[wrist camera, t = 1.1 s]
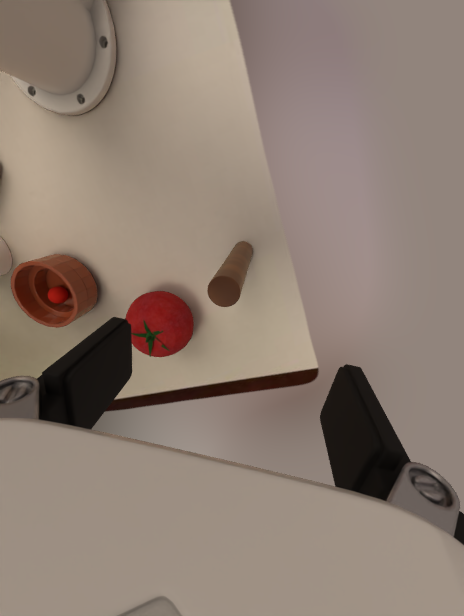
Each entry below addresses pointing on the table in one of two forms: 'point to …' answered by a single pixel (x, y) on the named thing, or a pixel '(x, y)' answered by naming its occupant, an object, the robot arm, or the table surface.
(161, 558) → the robot arm
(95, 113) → the table surface
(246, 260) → the stirring stick
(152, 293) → the tomato
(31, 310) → the bowl
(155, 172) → the table surface
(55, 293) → the cherry tomato
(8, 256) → the cylindrical container
